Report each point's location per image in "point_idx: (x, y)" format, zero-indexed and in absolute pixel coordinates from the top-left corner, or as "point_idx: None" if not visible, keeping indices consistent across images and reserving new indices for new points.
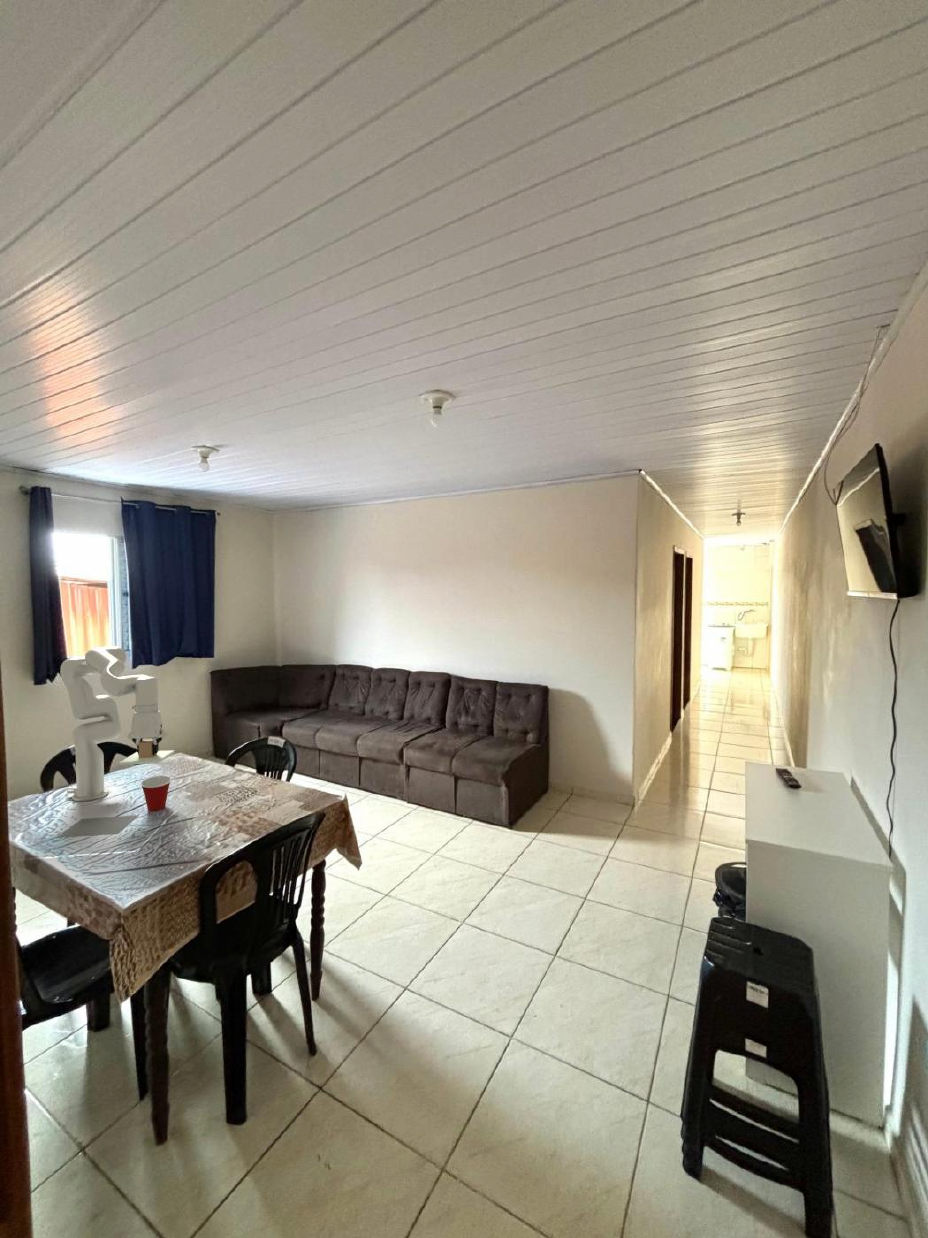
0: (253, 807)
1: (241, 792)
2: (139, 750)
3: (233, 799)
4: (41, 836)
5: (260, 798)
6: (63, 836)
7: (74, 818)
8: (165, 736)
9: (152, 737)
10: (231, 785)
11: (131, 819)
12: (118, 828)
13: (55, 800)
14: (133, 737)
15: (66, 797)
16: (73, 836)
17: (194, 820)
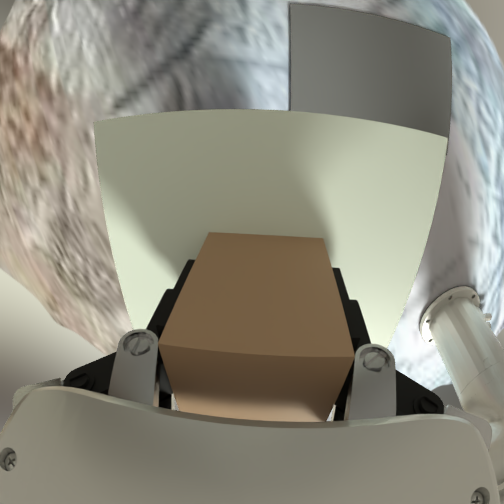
0: (21, 176)
1: (83, 275)
2: (328, 281)
3: (76, 232)
4: (484, 76)
5: (32, 229)
6: (437, 37)
7: (462, 175)
8: (25, 391)
9: (90, 395)
10: (130, 324)
11: (300, 103)
12: (309, 39)
13: (498, 299)
14: (453, 420)
15: (484, 312)
16: (413, 26)
17: (105, 92)
